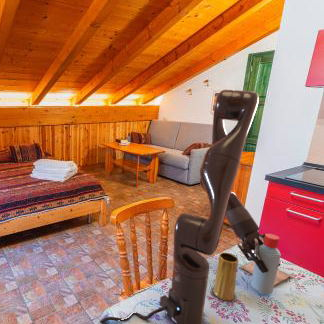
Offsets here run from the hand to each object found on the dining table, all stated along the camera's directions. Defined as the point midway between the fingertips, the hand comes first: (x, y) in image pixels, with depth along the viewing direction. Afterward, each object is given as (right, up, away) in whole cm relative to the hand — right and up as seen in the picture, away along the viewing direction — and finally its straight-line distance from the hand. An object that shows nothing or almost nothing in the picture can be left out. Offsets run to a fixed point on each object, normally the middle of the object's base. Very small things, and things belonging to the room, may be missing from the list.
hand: (271, 269), depth 81 cm
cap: (-1, +8, 0) cm, 8 cm away
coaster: (+8, -7, +13) cm, 16 cm away
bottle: (-1, -8, +3) cm, 9 cm away
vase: (-14, -10, +3) cm, 17 cm away
